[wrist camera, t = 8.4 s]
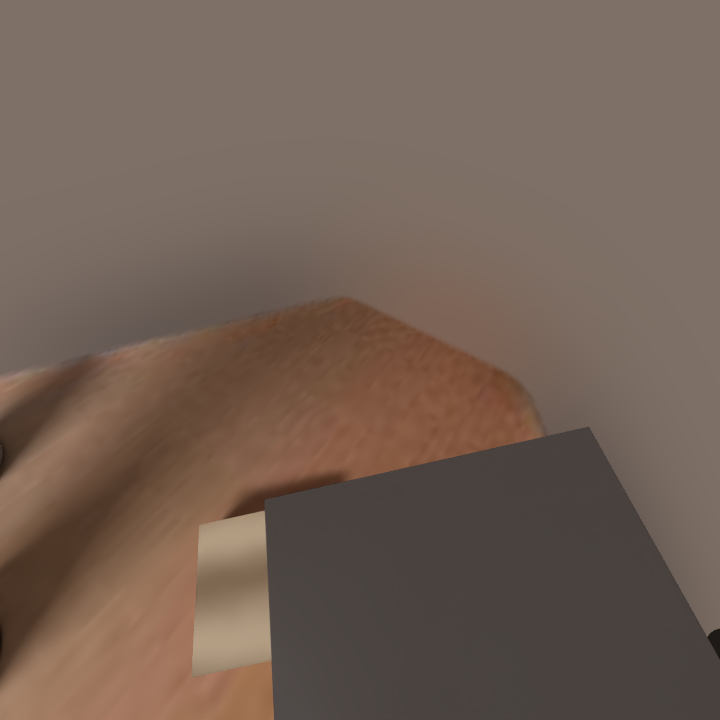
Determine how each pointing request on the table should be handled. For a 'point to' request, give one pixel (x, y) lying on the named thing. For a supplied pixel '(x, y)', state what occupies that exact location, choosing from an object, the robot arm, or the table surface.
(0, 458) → the beverage can
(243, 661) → the stand
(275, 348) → the table surface
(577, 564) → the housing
